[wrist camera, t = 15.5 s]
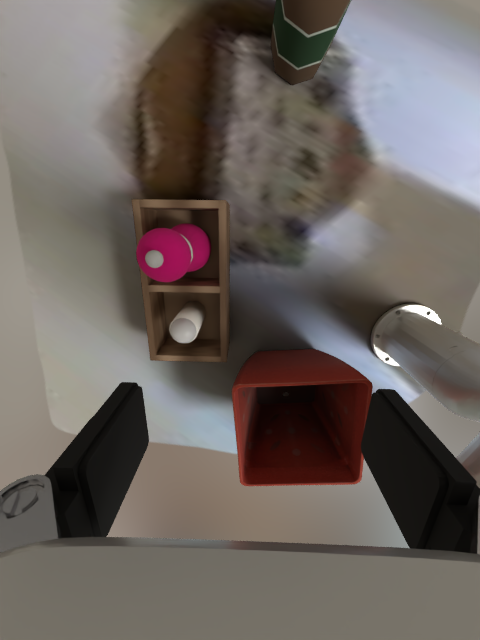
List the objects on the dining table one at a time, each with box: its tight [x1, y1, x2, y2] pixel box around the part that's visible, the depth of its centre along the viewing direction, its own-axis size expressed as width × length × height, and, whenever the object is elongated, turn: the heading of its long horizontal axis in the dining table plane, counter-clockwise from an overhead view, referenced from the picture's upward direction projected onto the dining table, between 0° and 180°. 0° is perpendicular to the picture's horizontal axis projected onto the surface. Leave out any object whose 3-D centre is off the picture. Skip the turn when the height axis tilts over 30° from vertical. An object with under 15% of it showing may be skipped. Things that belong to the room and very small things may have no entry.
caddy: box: [132, 199, 230, 362], centre depth 44 cm, size 13×25×8 cm, turn 179°
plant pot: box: [232, 349, 373, 486], centre depth 46 cm, size 19×19×17 cm
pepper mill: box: [136, 223, 211, 282], centre depth 35 cm, size 7×7×20 cm
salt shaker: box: [169, 301, 206, 343], centre depth 43 cm, size 4×4×11 cm
